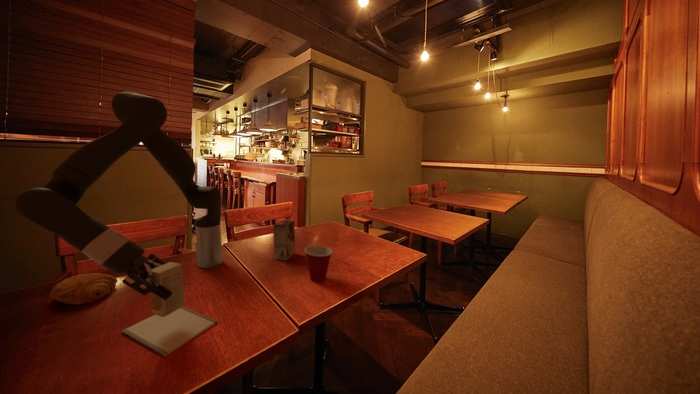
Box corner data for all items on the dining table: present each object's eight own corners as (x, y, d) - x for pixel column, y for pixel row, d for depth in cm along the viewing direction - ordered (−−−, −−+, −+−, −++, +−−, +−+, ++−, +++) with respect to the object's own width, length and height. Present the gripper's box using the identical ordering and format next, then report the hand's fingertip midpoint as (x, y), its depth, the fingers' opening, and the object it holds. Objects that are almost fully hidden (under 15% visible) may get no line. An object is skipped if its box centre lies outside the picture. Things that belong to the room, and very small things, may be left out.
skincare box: (174, 302, 73) (171, 260, 72) (185, 305, 72) (183, 263, 70) (150, 314, 67) (146, 269, 66) (162, 318, 66) (158, 273, 64)
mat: (121, 333, 68) (121, 330, 68) (176, 306, 81) (176, 303, 81) (163, 356, 61) (163, 354, 60) (216, 322, 73) (216, 320, 73)
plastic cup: (335, 284, 97) (336, 253, 95) (306, 287, 94) (306, 255, 92) (329, 271, 108) (329, 243, 106) (302, 274, 105) (302, 245, 103)
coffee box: (282, 252, 127) (282, 220, 125) (295, 253, 126) (294, 221, 124) (273, 259, 119) (273, 224, 116) (286, 260, 117) (286, 226, 115)
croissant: (71, 318, 77) (68, 295, 75) (43, 300, 82) (40, 277, 80) (127, 294, 90) (126, 273, 88) (100, 279, 95) (98, 259, 93)
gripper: (112, 249, 57) (177, 291, 63) (139, 232, 71) (190, 267, 77) (84, 275, 56) (153, 315, 62) (116, 252, 70) (170, 287, 75)
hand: (173, 289), depth 69 cm, fingers closed on skincare box, 7 cm apart
